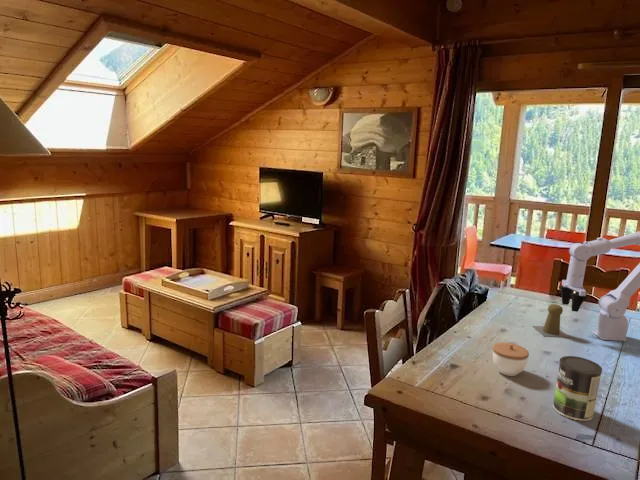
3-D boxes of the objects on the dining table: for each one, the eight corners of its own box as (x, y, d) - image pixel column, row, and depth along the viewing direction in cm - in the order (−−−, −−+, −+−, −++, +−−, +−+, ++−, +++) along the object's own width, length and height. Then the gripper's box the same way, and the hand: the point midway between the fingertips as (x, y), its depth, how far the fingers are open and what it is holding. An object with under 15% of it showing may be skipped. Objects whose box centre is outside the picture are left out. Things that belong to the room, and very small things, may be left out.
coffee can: (566, 421, 127) (574, 373, 124) (545, 401, 137) (552, 355, 134) (602, 421, 128) (611, 373, 125) (579, 400, 138) (586, 355, 135)
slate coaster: (556, 329, 195) (556, 326, 194) (568, 339, 185) (569, 336, 185) (531, 328, 194) (532, 325, 194) (543, 338, 185) (543, 335, 184)
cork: (561, 335, 186) (567, 309, 183) (545, 333, 186) (550, 308, 183) (556, 328, 192) (561, 303, 188) (540, 326, 192) (545, 301, 189)
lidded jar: (503, 381, 148) (507, 353, 146) (483, 365, 158) (486, 338, 156) (533, 378, 151) (537, 350, 149) (511, 362, 161) (514, 336, 159)
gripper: (556, 268, 191) (551, 300, 194) (574, 279, 177) (568, 313, 180) (574, 269, 191) (568, 301, 194) (593, 280, 177) (587, 314, 180)
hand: (569, 307), depth 187 cm, fingers open, 7 cm apart
